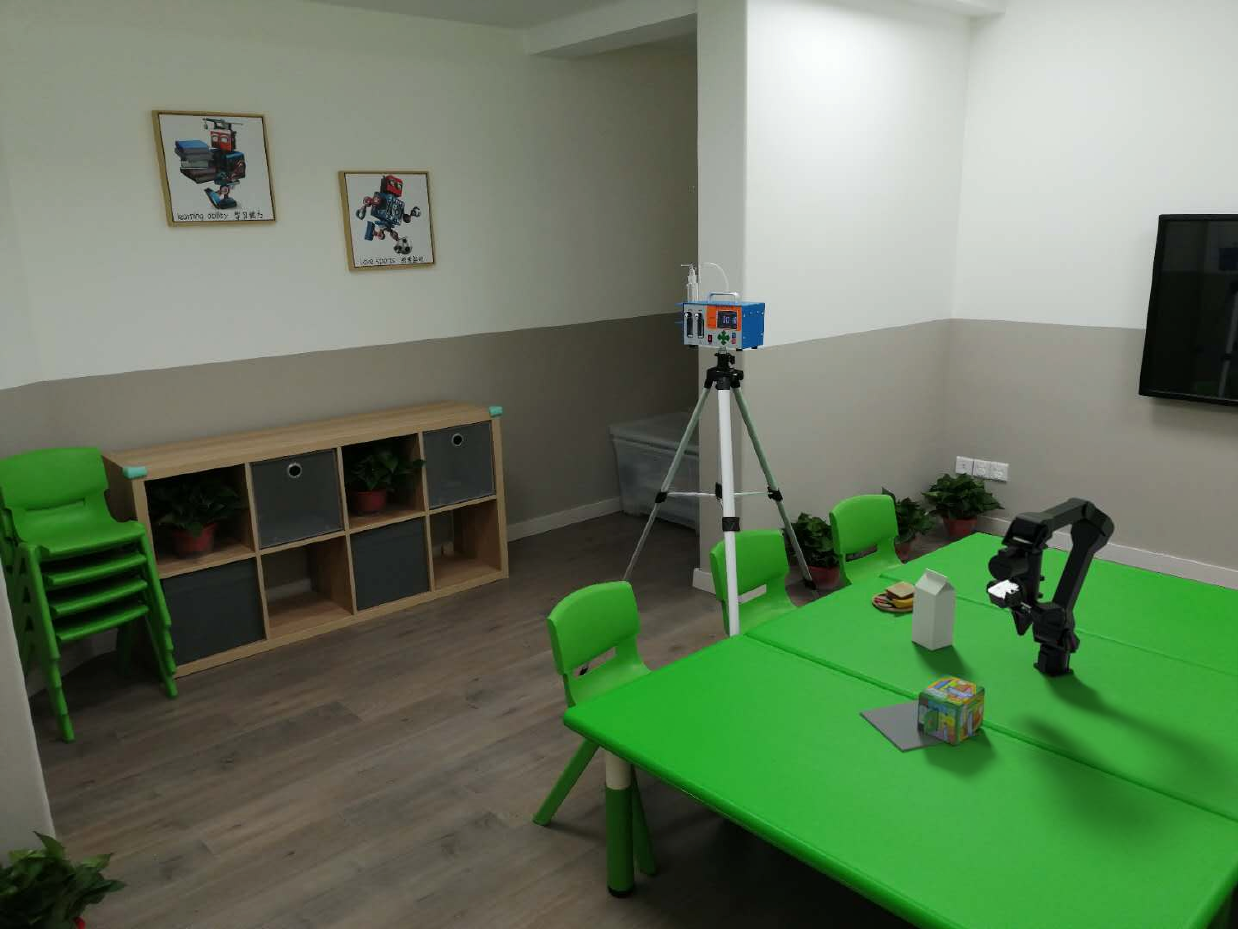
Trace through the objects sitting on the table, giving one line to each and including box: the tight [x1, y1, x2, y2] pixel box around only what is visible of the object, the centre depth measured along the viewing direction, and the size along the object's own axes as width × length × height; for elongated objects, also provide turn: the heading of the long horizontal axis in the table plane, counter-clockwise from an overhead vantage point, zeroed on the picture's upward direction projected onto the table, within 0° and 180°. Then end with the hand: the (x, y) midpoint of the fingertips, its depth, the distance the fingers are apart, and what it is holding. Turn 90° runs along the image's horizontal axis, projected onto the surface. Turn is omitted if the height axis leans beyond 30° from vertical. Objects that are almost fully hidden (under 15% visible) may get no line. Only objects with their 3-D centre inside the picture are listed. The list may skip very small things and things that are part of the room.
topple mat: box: [859, 699, 978, 752], centre depth 201 cm, size 18×16×1 cm
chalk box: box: [917, 674, 986, 746], centre depth 196 cm, size 9×9×15 cm
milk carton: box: [910, 568, 957, 652], centre depth 235 cm, size 7×7×19 cm
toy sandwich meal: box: [871, 580, 915, 613], centre depth 261 cm, size 12×14×5 cm
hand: (1020, 635), depth 212 cm, fingers closed
